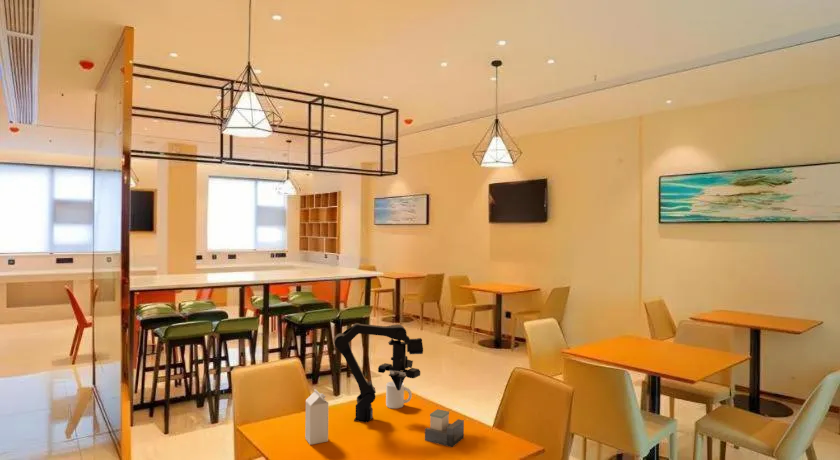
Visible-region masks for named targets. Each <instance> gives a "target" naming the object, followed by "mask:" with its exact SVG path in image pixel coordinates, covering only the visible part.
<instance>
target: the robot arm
mask: <svg viewBox="0 0 840 460" xmlns="http://www.w3.org/2000/svg"><path fill="white" fill-rule="evenodd" d="M360 334H361V335H372V336H381V337H382V336H383V337H387V338H389V339H390V340H389V341H388V345H390V346H392V357H390V361H392V363H382V364H380V365H379V366H378V367H377V369H378V370H377V372H378V373H382V374H384V373H385V372H386V371H387V372H389V373H388V376H389V377H390V379H391V380H392V381H393V382H394V384H395V386H396V388H397V390H398V391H399V390H400V389H401V386H402V383H404V381H405V379H406V378H409V379H416V378H417V377H420V376H421V370H420V369H419V368H414V367H413V363H414V360H411V359H408V356H407V355H406V354H407V353H408V354H409V355H423V353H424V345H423V339H422V338H421V337H418V338H410V336H408V335H407V334H408V333H407V330H406V328H405V327H404V326H403V325H402V324H392V325H387V326H386V325H376V324H375V325H374V324H365V323H364V324H363V323H359V322H355V323H353V325H352V326H349V328H347V329H346V330H344V331H343V332H339V333H338V334H336V336H335V337H334V346H335V348H336V349H337V350H338V352H339V353H340V354H341V355H342V356H343V357H344V359H345V361H346V363H347V365H348V368H349V369H350V371H351V373H352V375H353V377H354V379H355V381H356V383H357V385H358V388H359V392H360V394H358V396H357V397H356V403H357V404H356V405H355V418H354V419H353V422H361V423H369V422H370V421H371V420H372V419H373V417H374V416H373V415H374V414H373V413H374V412H373V405H372V403H373V402H374V401H375V400H376V393H377V392H376V388H375V386H374V385H373V382H372V380H369V381H368V380H367V379H366V378H365V376H364V373H363V370H362V369H361V367H360V365H359V363H358V362H357V359H356V357H355V356H354V353H353V351H352V347H351V343H350V342H351V341H353V339H354V338H355V337H357V336H358V335H360ZM406 352H407V353H406Z"/></svg>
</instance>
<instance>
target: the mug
mask: <svg viewBox="0 0 840 460" xmlns="http://www.w3.org/2000/svg"><path fill="white" fill-rule="evenodd" d="M385 384H386V385H385V386H386V387H385V396H386V397H385V405H386V407H387V408H389V409H396V410H397V409H401V408H403V407H404V406H405V405H404V404H407V403H409V402H410V401H411V399H412V397H413V395H412V394H413V393H412V391H411V389H410V388H409V387H407V386H405V383H404V382H403V383H402V386H401V389H400V390H399V391H398V390H397V388H396V386H395V384H394V382H393V380H392V381H388V382H386V383H385ZM405 391H406V392H408V398H407V399H405Z"/></svg>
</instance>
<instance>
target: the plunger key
mask: <svg viewBox="0 0 840 460" xmlns="http://www.w3.org/2000/svg"><path fill="white" fill-rule="evenodd" d="M449 414H450V411H449V410H448V411H447V410H444V409H439V408H437V409H436V410H434V411H433V412H430V414H429V416H430V422H429V423H430V427H429V428H430V429H435V430H439V431H443V432H447V427H448V426H449V419H450V418H449V417H450V415H449Z"/></svg>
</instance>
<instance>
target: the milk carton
mask: <svg viewBox="0 0 840 460" xmlns="http://www.w3.org/2000/svg"><path fill="white" fill-rule="evenodd" d="M313 390H314V391H313V392H312V393H311V394H310V395H309V396H308V397H307V398H306V399H305V426H304V427H305V431H304V432H305V436H304V438H305V440H306V441H307V443H308V444H309V446H311V445H316V444H321V443H326V442H329V402H328V401H327V400H326V399H325V398H326V395H325V394H324V393H323V392H321V393H320V392H319V391H318V389H316V388H314V389H313Z"/></svg>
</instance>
